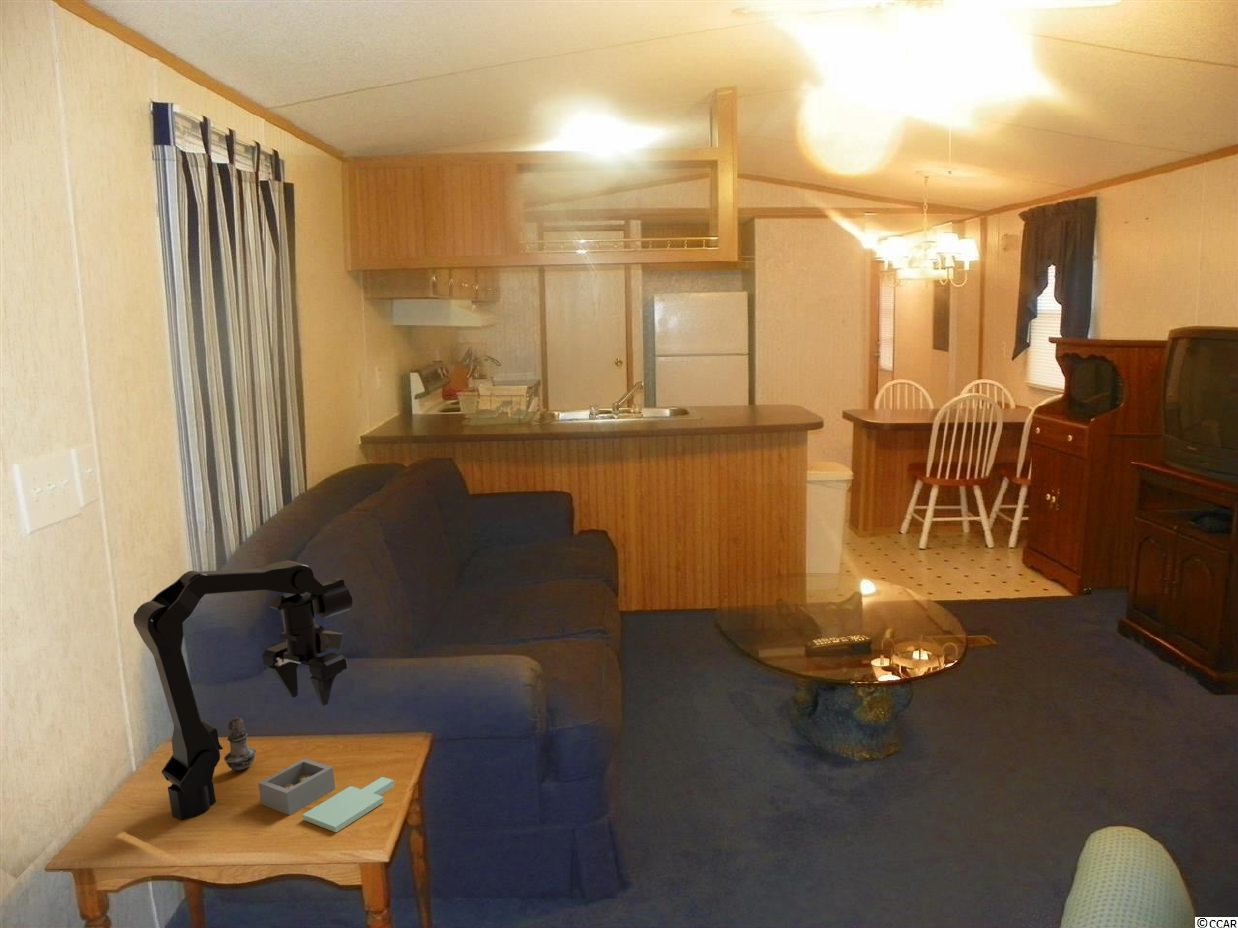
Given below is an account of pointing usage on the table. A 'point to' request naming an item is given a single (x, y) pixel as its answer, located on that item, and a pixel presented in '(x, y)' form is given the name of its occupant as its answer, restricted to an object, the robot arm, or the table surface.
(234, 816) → the table surface
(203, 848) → the table surface
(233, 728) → the grey upright turned figure
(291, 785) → the part
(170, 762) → the robot arm
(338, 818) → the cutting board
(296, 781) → the tub
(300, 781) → the part
